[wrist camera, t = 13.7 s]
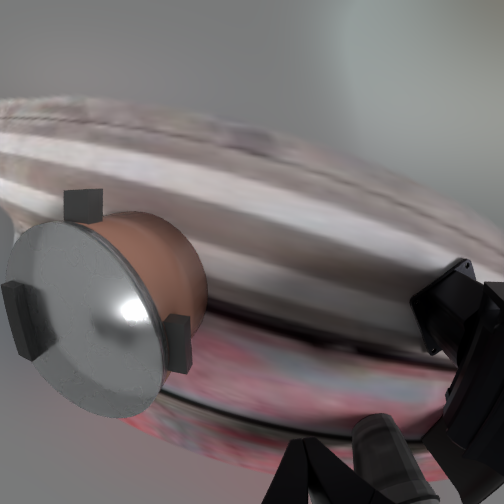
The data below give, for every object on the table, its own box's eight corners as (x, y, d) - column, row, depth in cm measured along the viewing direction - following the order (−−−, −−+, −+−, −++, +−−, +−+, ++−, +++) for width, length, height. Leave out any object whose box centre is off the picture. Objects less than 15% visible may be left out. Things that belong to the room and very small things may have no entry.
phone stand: (420, 438, 22) (449, 514, 11) (454, 401, 21) (498, 475, 9) (459, 442, 22) (488, 503, 11) (488, 410, 21) (527, 468, 9)
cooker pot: (223, 189, 19) (183, 187, 12) (219, 378, 23) (194, 445, 15) (79, 190, 21) (9, 195, 13) (95, 350, 24) (49, 394, 16)
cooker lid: (162, 224, 12) (140, 230, 10) (178, 428, 14) (168, 450, 13) (6, 219, 13) (-15, 224, 11) (39, 378, 16) (24, 390, 14)
